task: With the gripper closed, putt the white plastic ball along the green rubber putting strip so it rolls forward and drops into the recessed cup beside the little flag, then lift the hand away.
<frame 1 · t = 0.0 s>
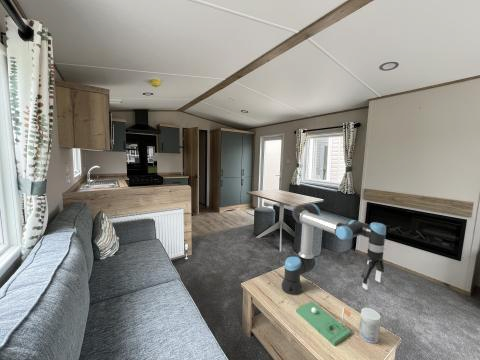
hand: (371, 284, 122), 28 cm above the table, fingers open, 13 cm apart
supplement tub: (368, 336, 120), on the table
ball: (314, 310, 134), point 4 cm above the table, touching putting strip
putting strip: (321, 322, 130), on the table
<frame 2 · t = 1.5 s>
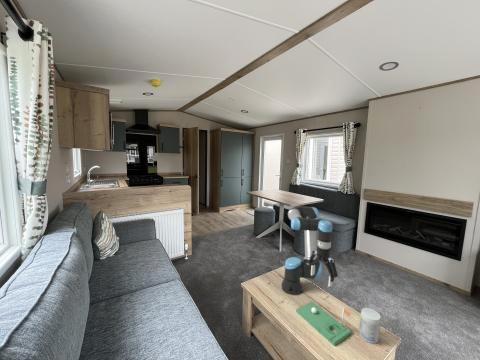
hand: (321, 280, 129), 26 cm above the table, fingers open, 12 cm apart
nothing on the table moved.
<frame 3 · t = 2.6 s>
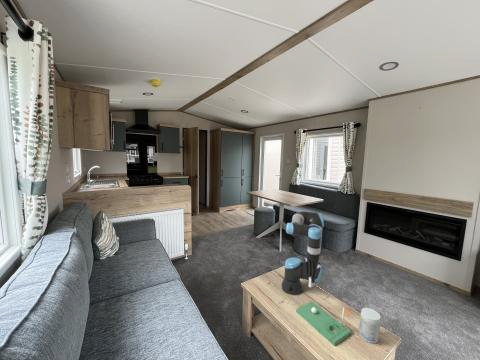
hand: (310, 286, 136), 18 cm above the table, fingers closed
nothing on the table moved.
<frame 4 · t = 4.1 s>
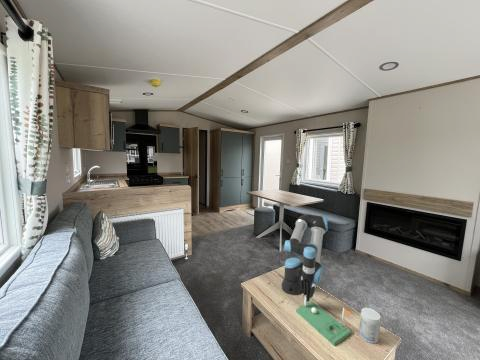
hand: (306, 304, 140), 3 cm above the table, fingers closed
nothing on the table moved.
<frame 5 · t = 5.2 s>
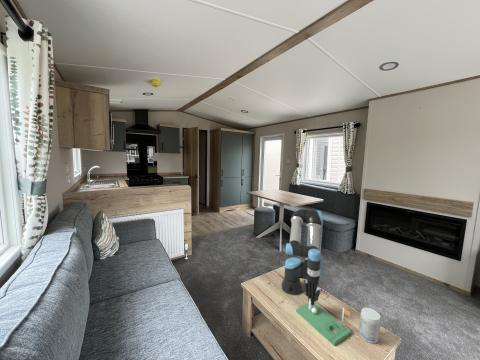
hand: (310, 308, 136), 4 cm above the table, fingers closed
ball: (314, 310, 134), point 4 cm above the table, touching gripper, putting strip
everything else where it was.
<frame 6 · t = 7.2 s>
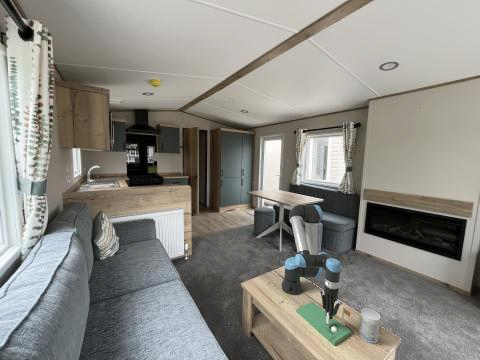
hand: (328, 322, 125), 4 cm above the table, fingers closed
ball: (334, 330, 122), point 2 cm above the table, tilted 146°
everything else where it was.
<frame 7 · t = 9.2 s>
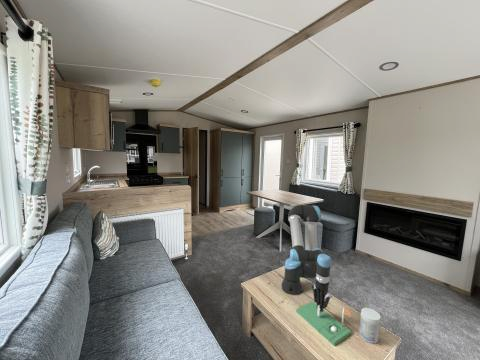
hand: (319, 314, 131), 3 cm above the table, fingers closed
ball: (333, 329, 122), point 2 cm above the table, tilted 138°
everything else where it was.
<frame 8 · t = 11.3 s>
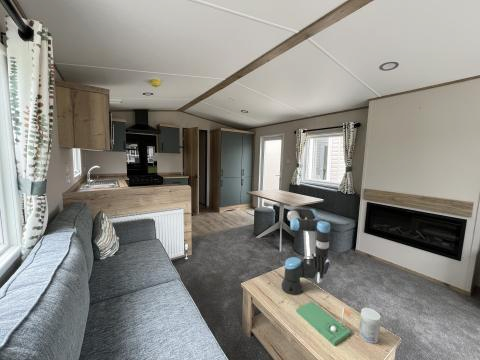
hand: (319, 281, 133), 22 cm above the table, fingers closed
ball: (333, 329, 122), point 2 cm above the table, tilted 131°
everything else where it was.
at the end: ball 0.0 cm from the target spot on the putting strip, point 1.7 cm above the putting strip's base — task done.
